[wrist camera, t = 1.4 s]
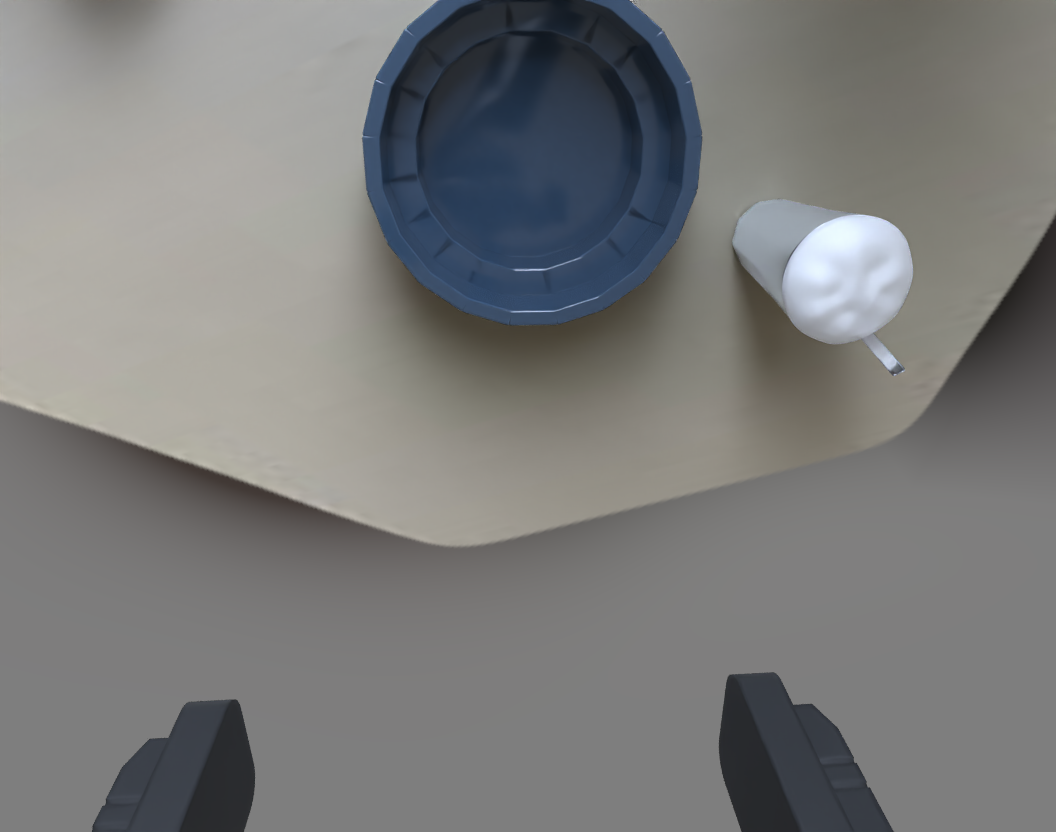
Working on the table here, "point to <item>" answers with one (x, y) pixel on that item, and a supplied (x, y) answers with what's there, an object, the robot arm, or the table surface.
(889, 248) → the milkshake
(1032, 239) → the table surface
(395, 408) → the table surface
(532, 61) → the bowl
